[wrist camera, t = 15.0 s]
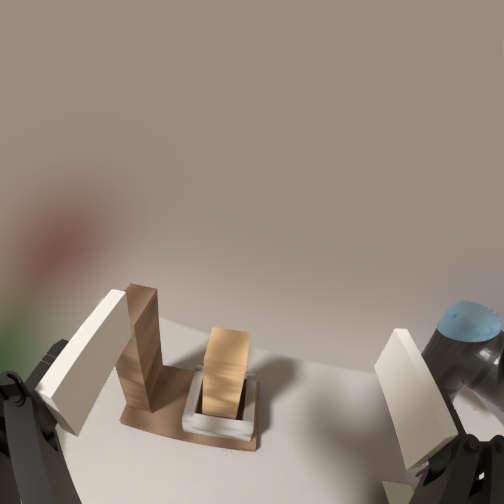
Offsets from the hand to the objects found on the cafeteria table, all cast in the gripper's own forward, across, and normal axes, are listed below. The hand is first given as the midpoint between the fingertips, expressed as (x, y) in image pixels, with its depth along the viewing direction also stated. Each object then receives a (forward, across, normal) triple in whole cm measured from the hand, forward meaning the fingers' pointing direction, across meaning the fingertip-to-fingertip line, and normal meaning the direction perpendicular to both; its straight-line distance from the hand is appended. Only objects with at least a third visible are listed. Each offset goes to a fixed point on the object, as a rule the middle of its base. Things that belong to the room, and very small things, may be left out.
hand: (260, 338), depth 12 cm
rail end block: (+15, -2, -30) cm, 34 cm away
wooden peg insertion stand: (+15, -7, -32) cm, 36 cm away
